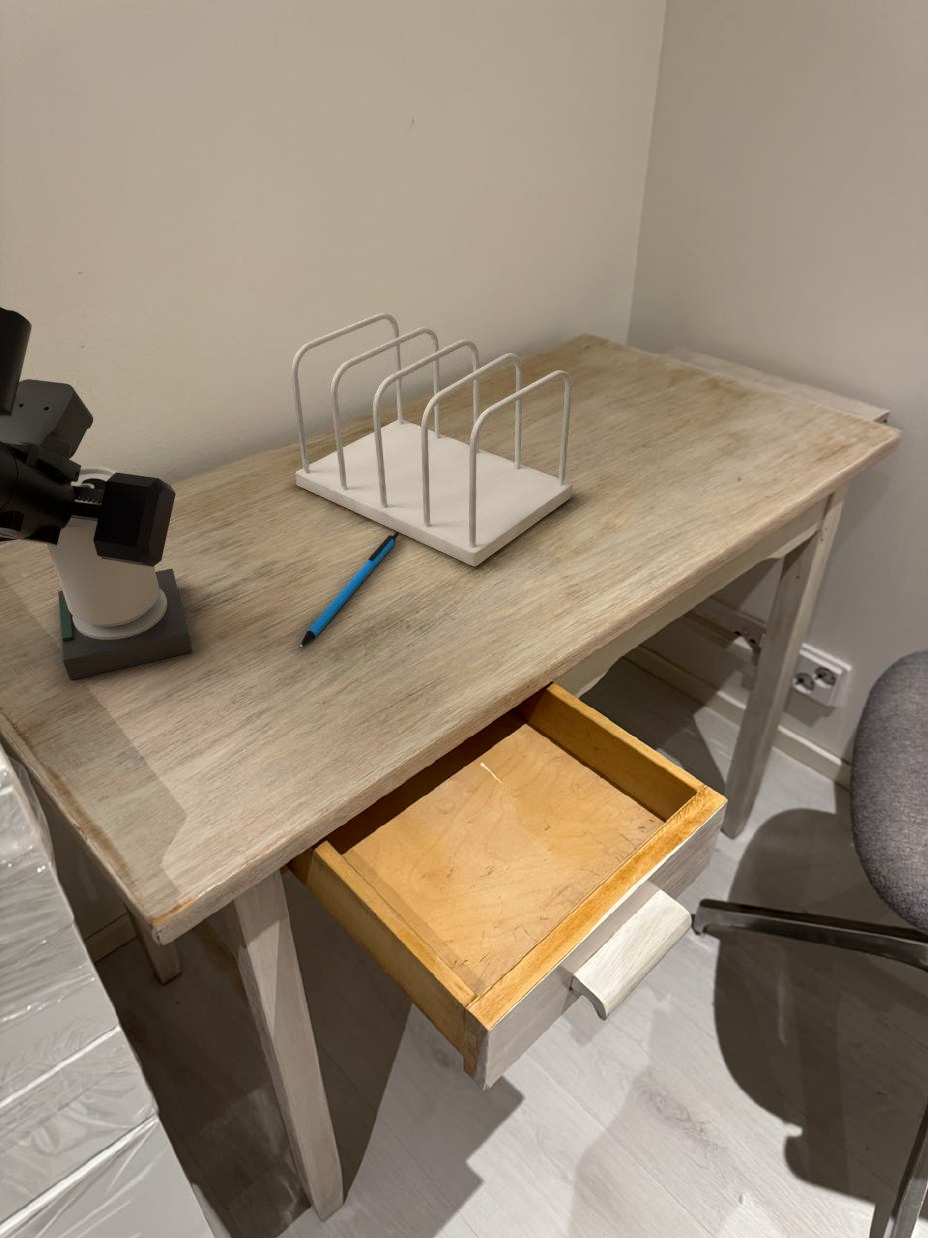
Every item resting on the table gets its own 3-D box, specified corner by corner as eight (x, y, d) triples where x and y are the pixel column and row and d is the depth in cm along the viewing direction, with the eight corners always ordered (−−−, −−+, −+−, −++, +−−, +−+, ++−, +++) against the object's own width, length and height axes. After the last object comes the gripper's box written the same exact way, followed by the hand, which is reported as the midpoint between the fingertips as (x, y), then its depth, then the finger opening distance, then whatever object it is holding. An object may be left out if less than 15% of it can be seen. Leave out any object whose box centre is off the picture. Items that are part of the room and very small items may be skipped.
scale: (69, 680, 74) (61, 656, 72) (64, 610, 81) (56, 587, 79) (192, 652, 77) (187, 628, 75) (177, 586, 84) (171, 564, 82)
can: (179, 604, 77) (151, 481, 70) (100, 645, 73) (61, 519, 65) (131, 569, 81) (99, 450, 73) (53, 606, 76) (12, 484, 69)
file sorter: (572, 499, 97) (586, 361, 87) (474, 572, 86) (477, 424, 76) (400, 430, 109) (395, 303, 99) (295, 487, 98) (278, 350, 88)
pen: (401, 538, 91) (401, 529, 90) (305, 651, 77) (304, 641, 76) (393, 536, 91) (393, 526, 90) (296, 649, 77) (295, 639, 76)
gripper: (133, 376, 58) (232, 452, 73) (-115, 347, 61) (29, 425, 76) (96, 543, 56) (204, 585, 72) (-155, 505, 60) (-1, 552, 75)
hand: (107, 532), depth 74 cm, fingers closed on can, 7 cm apart
